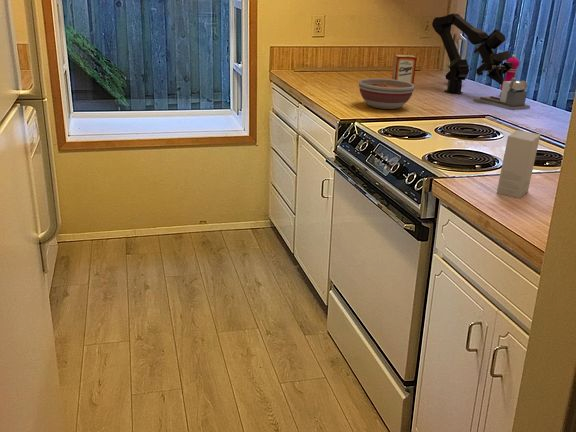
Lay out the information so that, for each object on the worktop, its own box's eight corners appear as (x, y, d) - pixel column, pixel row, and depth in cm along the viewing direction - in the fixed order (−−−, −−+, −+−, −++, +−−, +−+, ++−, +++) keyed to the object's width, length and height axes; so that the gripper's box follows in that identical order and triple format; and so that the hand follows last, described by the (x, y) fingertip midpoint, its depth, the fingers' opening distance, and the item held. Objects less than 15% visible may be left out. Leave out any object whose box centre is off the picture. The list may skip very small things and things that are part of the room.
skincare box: (505, 185, 167) (515, 129, 162) (530, 191, 164) (542, 134, 158) (495, 193, 161) (506, 134, 155) (521, 199, 157) (533, 139, 152)
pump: (499, 101, 277) (504, 76, 273) (507, 101, 280) (512, 76, 276) (507, 103, 274) (511, 78, 270) (515, 102, 277) (519, 77, 272)
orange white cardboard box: (393, 89, 303) (397, 55, 297) (391, 86, 309) (394, 53, 303) (412, 90, 303) (416, 56, 298) (409, 87, 310) (413, 54, 304)
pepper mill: (515, 99, 295) (523, 56, 287) (499, 97, 296) (507, 54, 288) (513, 96, 301) (521, 54, 294) (497, 95, 302) (505, 53, 295)
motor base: (473, 100, 285) (477, 74, 281) (490, 98, 291) (495, 73, 287) (511, 110, 268) (516, 83, 264) (529, 108, 274) (534, 81, 270)
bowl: (377, 114, 246) (380, 88, 242) (346, 102, 264) (348, 79, 261) (422, 111, 256) (426, 87, 252) (389, 100, 275) (392, 77, 271)
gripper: (485, 44, 270) (501, 74, 266) (514, 44, 280) (529, 72, 276) (469, 60, 279) (483, 89, 275) (496, 59, 289) (511, 87, 285)
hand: (502, 84), depth 277 cm, fingers closed
